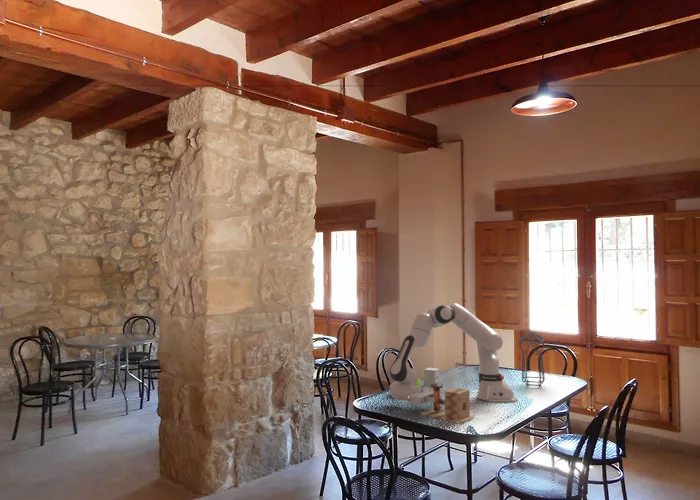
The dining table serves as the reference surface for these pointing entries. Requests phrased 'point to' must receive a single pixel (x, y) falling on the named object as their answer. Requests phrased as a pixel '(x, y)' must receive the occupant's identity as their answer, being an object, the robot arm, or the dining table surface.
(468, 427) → the dining table surface
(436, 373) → the supplement box
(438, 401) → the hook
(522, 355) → the geometric lantern
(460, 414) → the light wood block structure
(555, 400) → the dining table surface
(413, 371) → the robot arm
